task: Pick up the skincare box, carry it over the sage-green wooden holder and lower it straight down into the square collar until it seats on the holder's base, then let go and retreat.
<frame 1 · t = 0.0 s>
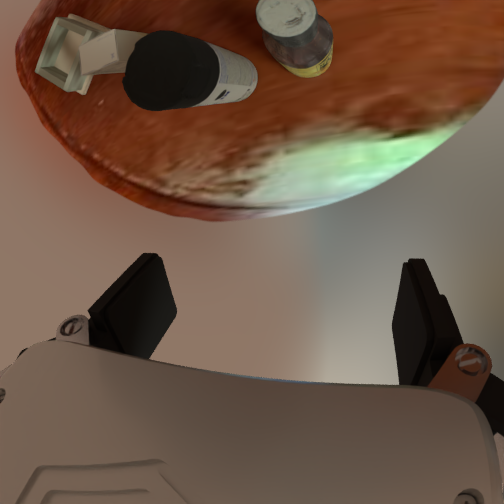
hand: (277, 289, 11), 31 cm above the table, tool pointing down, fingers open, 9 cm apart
sauce bottle: (307, 54, 32), on the table
skincare box: (151, 55, 36), on the table
spray can: (234, 77, 36), on the table
holder: (77, 52, 37), on the table
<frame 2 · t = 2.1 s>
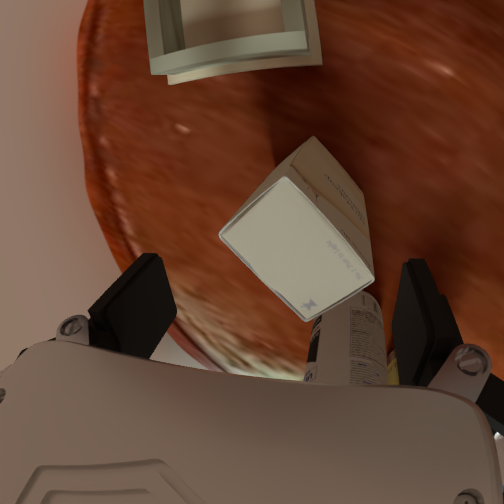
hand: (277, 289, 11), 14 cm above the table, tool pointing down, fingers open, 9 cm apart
sauce bottle: (412, 353, 29), on the table
skincare box: (317, 179, 23), on the table
spray can: (349, 311, 29), on the table
holder: (234, 4, 17), on the table
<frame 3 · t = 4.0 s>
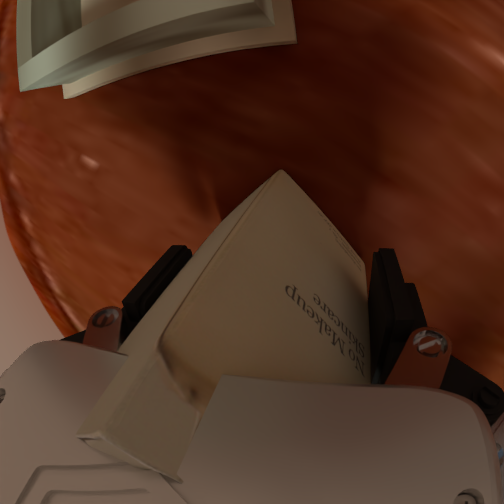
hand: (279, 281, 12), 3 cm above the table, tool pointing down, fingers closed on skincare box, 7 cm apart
skincare box: (290, 240, 15), on the table, touching gripper
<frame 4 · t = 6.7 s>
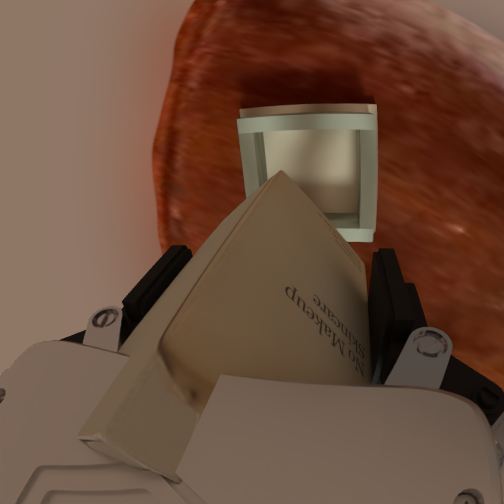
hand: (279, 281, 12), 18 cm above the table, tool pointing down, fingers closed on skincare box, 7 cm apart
skincare box: (290, 240, 15), point 15 cm above the table, touching gripper
holder: (312, 168, 27), on the table
when the fingers open (6 cm above the table, at t = 9.4 s): skincare box drops 2 cm, resting on holder.
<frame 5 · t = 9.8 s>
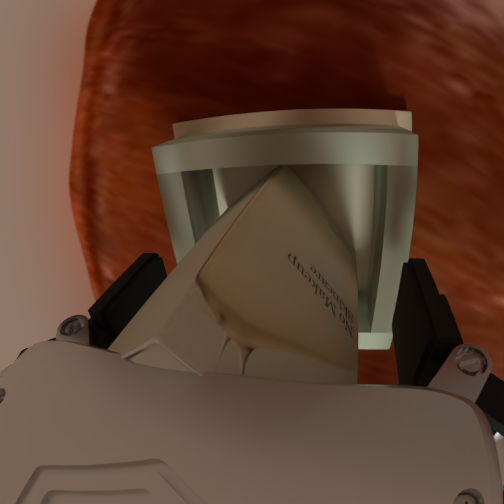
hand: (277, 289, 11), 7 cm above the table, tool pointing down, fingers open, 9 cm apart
skincare box: (289, 226, 16), point 1 cm above the table, touching holder
holder: (296, 220, 17), on the table
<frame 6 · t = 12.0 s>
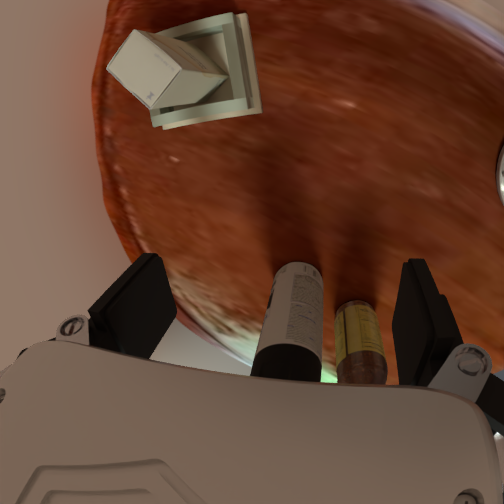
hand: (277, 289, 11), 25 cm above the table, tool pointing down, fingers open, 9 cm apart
sauce bottle: (356, 312, 42), on the table
skincare box: (198, 72, 30), point 1 cm above the table, touching holder
spray can: (299, 280, 41), on the table
holder: (203, 71, 30), on the table
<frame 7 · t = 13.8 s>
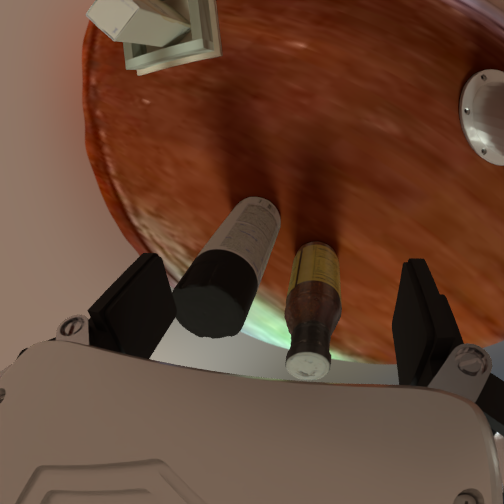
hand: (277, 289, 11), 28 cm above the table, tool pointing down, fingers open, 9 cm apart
sauce bottle: (317, 257, 42), on the table
skincare box: (169, 25, 30), point 1 cm above the table, touching holder
spray can: (257, 217, 42), on the table
holder: (174, 25, 30), on the table
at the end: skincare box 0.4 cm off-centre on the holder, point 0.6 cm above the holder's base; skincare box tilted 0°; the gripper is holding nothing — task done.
